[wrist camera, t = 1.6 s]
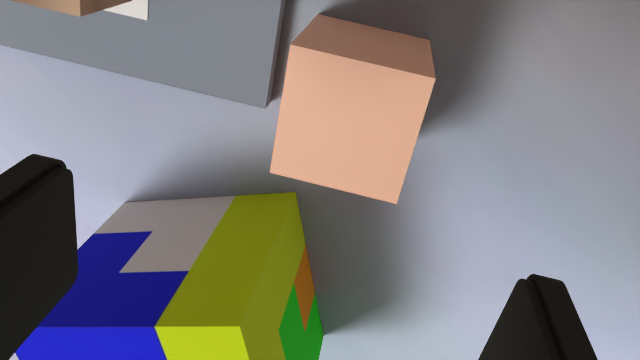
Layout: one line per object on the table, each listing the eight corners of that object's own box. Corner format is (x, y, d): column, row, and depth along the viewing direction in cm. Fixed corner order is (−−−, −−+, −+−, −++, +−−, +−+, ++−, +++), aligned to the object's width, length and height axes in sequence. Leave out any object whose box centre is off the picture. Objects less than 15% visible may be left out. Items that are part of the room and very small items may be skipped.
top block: (429, 39, 22) (435, 78, 17) (399, 142, 25) (396, 203, 19) (318, 14, 22) (290, 44, 17) (299, 117, 25) (269, 172, 20)
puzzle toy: (125, 201, 29) (1, 326, 20) (295, 191, 27) (239, 326, 18) (174, 334, 33) (89, 485, 24) (323, 334, 31) (289, 499, 22)
